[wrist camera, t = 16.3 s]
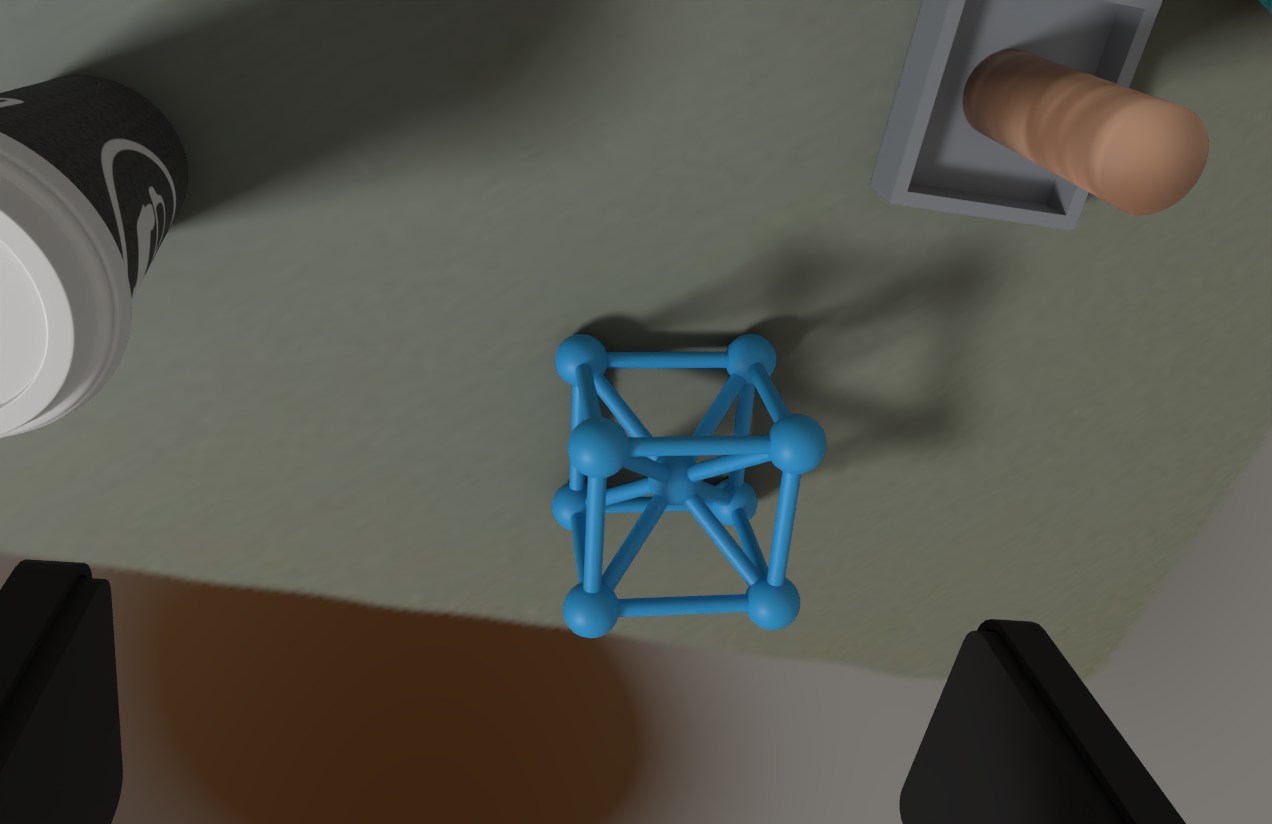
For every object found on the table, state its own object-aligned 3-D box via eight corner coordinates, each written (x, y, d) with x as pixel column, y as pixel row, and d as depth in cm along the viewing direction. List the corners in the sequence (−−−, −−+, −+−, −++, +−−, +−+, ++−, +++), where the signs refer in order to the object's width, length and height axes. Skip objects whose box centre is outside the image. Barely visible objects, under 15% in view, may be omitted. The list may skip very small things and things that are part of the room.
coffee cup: (156, -2, 37) (-22, 74, 24) (270, 239, 42) (173, 412, 29) (-93, 75, 37) (-405, 192, 24) (48, 307, 42) (-149, 510, 29)
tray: (937, -51, 40) (963, -46, 38) (1128, -12, 42) (1164, -5, 39) (869, 186, 44) (889, 203, 42) (1045, 213, 46) (1073, 231, 44)
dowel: (978, 42, 41) (1128, 97, 31) (1056, 56, 42) (1227, 114, 32) (951, 129, 43) (1086, 207, 33) (1026, 142, 43) (1181, 221, 34)
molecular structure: (772, 325, 47) (838, 432, 38) (748, 508, 51) (803, 640, 43) (553, 325, 45) (570, 436, 37) (549, 513, 50) (564, 651, 41)
